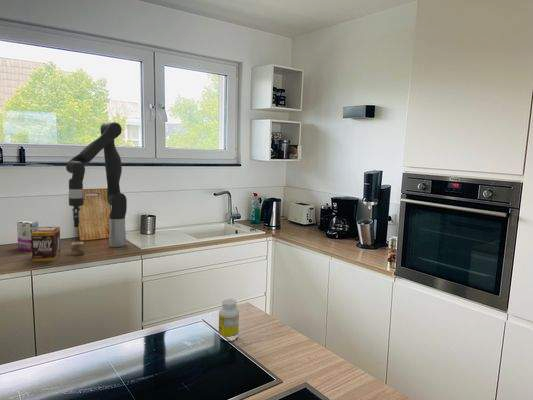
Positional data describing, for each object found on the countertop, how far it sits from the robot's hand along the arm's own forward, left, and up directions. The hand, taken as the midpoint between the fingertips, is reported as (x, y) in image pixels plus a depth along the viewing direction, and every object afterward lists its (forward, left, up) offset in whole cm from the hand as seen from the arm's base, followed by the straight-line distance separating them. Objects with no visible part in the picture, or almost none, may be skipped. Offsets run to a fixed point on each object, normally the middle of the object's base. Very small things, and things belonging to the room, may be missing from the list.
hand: (76, 225), depth 223 cm
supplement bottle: (-49, +123, -16) cm, 134 cm away
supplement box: (+15, +4, -16) cm, 23 cm away
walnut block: (0, 0, -16) cm, 16 cm away
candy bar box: (+26, -16, -16) cm, 34 cm away
